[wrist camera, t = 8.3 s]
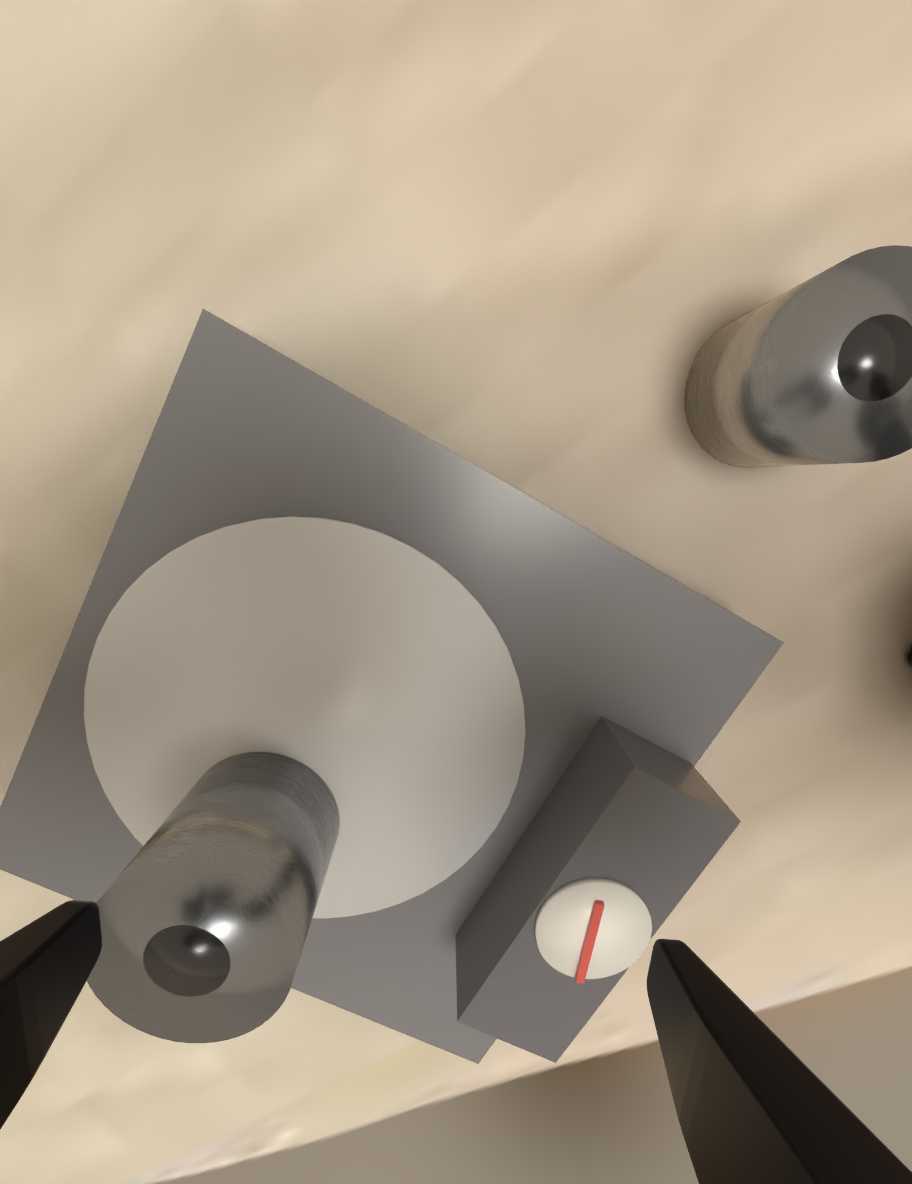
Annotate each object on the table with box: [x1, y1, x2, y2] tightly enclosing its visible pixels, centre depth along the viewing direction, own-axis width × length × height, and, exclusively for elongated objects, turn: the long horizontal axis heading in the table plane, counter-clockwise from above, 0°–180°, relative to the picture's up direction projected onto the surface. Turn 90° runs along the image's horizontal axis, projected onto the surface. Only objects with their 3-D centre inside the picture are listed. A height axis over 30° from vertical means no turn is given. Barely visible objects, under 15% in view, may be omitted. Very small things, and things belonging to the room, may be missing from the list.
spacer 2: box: [685, 246, 912, 467], centre depth 15 cm, size 5×5×5 cm
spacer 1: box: [87, 752, 340, 1043], centre depth 14 cm, size 5×5×5 cm
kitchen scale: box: [0, 309, 784, 1064], centre depth 17 cm, size 20×20×6 cm
